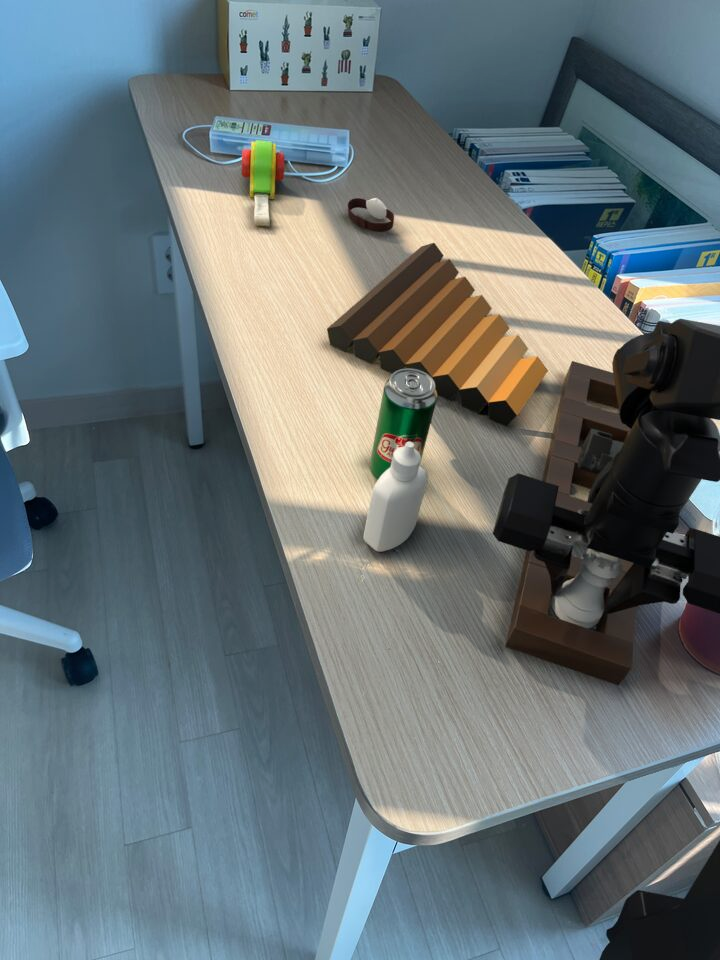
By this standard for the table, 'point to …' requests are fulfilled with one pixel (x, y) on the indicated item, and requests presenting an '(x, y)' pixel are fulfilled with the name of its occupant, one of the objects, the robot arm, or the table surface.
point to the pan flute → (441, 336)
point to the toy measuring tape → (262, 176)
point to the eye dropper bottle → (396, 500)
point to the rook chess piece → (587, 589)
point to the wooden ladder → (530, 624)
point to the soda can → (403, 416)
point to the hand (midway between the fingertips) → (580, 600)
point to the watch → (375, 209)
